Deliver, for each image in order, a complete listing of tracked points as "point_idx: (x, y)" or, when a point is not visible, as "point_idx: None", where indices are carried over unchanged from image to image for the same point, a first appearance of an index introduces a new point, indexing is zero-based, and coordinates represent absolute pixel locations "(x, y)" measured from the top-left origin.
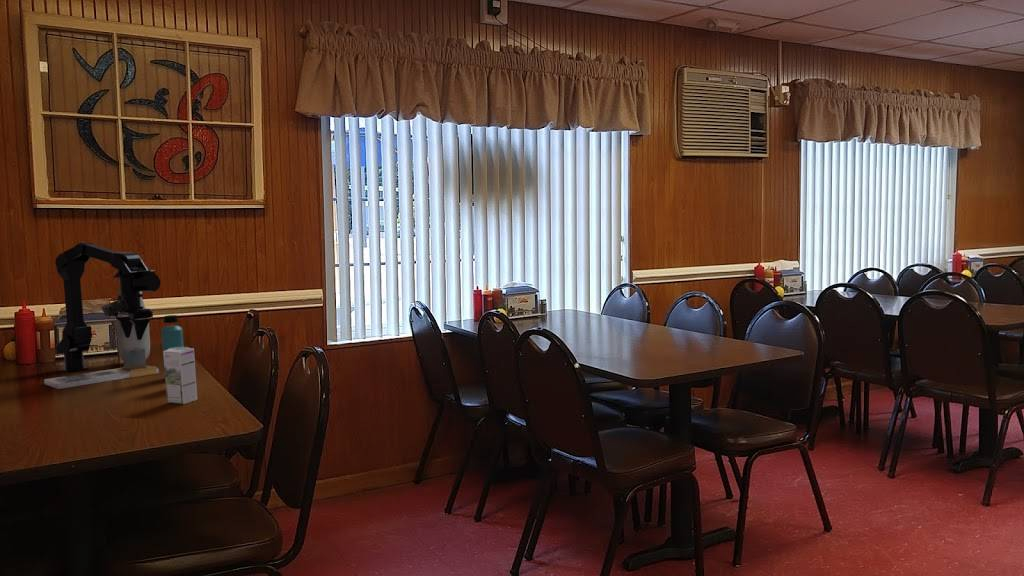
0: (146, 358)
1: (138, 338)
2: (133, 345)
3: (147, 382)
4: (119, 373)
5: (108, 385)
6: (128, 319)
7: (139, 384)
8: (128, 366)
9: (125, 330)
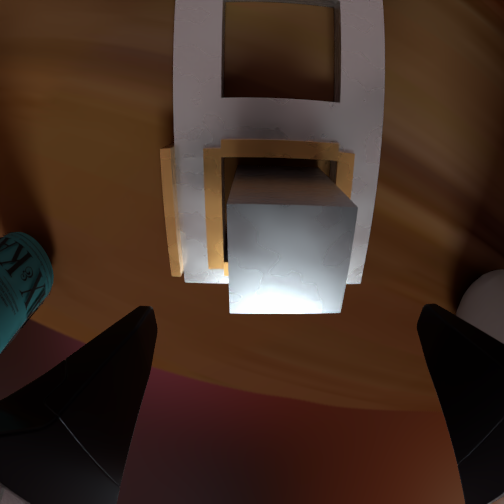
0: None
1: (132, 317)
2: (491, 333)
3: (24, 160)
4: (204, 100)
5: (79, 26)
6: (496, 465)
7: (12, 127)
8: (260, 174)
9: (460, 350)
